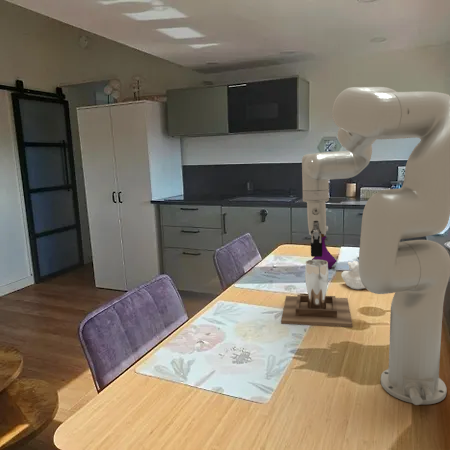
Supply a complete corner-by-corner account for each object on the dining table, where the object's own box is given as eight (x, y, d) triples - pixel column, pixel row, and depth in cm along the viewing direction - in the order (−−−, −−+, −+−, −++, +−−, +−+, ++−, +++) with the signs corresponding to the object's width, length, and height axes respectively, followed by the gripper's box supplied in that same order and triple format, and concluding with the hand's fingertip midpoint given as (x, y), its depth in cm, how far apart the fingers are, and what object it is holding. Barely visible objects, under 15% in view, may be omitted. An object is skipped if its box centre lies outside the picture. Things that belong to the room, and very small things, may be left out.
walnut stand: (352, 327, 115) (352, 317, 114) (281, 323, 119) (280, 313, 118) (347, 300, 134) (347, 292, 133) (286, 298, 138) (286, 290, 138)
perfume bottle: (311, 267, 172) (310, 225, 169) (325, 264, 176) (325, 223, 172) (322, 271, 166) (322, 228, 162) (336, 268, 169) (337, 226, 165)
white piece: (328, 313, 122) (328, 265, 119) (305, 312, 123) (304, 265, 121) (327, 304, 129) (328, 259, 126) (305, 304, 130) (305, 258, 127)
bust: (340, 290, 149) (332, 272, 143) (347, 274, 153) (339, 255, 146) (372, 297, 142) (365, 278, 135) (379, 279, 145) (372, 260, 139)
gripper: (329, 198, 110) (330, 259, 113) (328, 192, 127) (328, 246, 130) (301, 199, 112) (303, 259, 115) (303, 193, 129) (304, 246, 131)
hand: (316, 252), depth 122 cm, fingers open, 9 cm apart
